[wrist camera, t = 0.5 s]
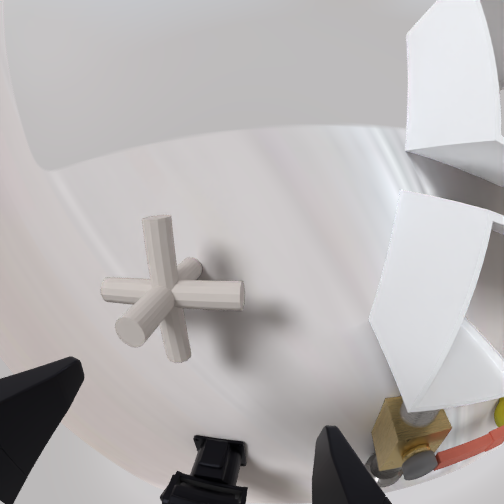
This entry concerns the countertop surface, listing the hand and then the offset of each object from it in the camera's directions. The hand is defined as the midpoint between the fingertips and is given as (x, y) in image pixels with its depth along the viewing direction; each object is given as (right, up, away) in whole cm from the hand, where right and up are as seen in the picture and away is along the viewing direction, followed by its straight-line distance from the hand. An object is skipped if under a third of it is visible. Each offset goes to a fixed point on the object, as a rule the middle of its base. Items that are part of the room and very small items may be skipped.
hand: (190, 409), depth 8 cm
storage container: (+19, +11, +10) cm, 24 cm away
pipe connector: (-3, +4, +14) cm, 15 cm away
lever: (+24, -16, +8) cm, 30 cm away
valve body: (+20, -14, +16) cm, 29 cm away
